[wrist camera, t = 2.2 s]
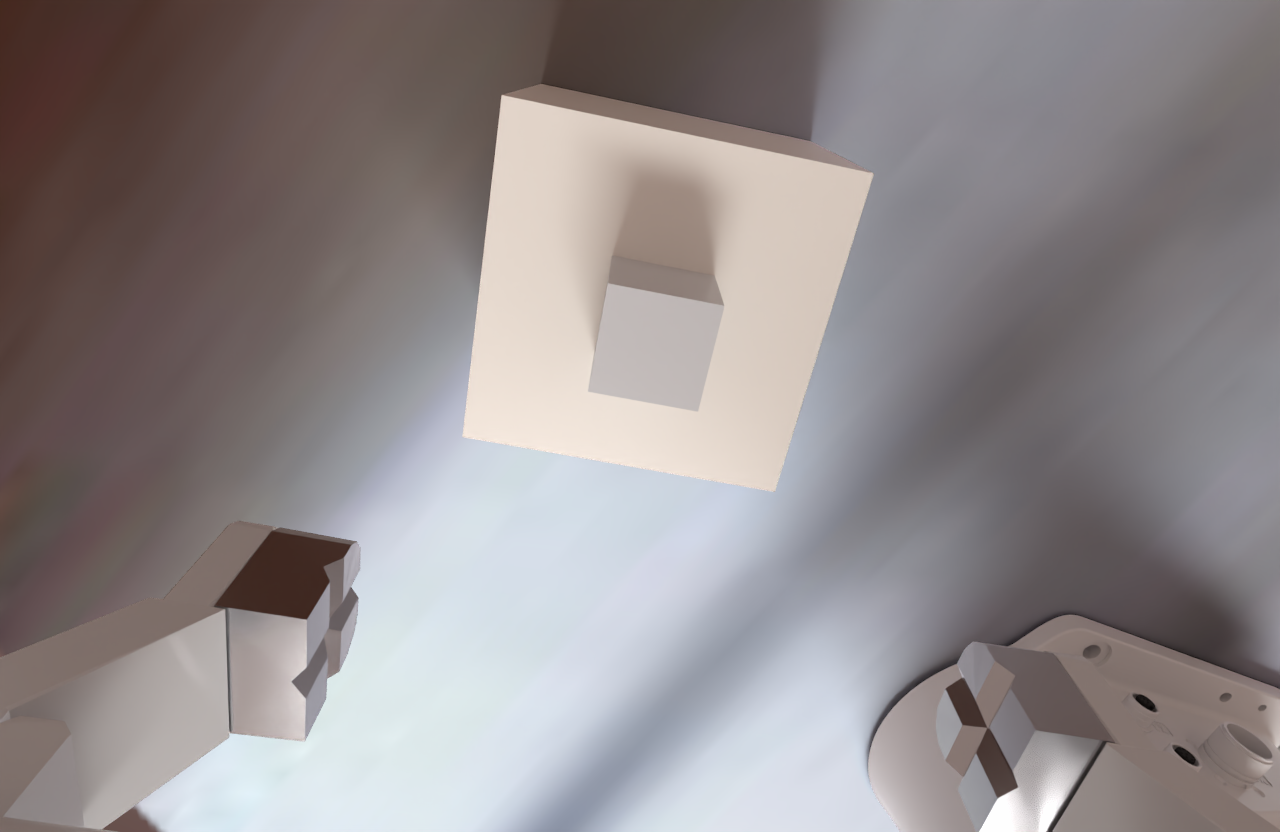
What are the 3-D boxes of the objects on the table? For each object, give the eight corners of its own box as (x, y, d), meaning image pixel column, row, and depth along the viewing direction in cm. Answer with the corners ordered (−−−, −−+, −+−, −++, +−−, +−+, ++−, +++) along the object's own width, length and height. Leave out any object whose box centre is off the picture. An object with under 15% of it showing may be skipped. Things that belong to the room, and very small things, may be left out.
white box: (811, 141, 29) (907, 190, 19) (743, 387, 34) (790, 543, 23) (540, 83, 29) (480, 101, 18) (506, 343, 33) (440, 484, 22)
